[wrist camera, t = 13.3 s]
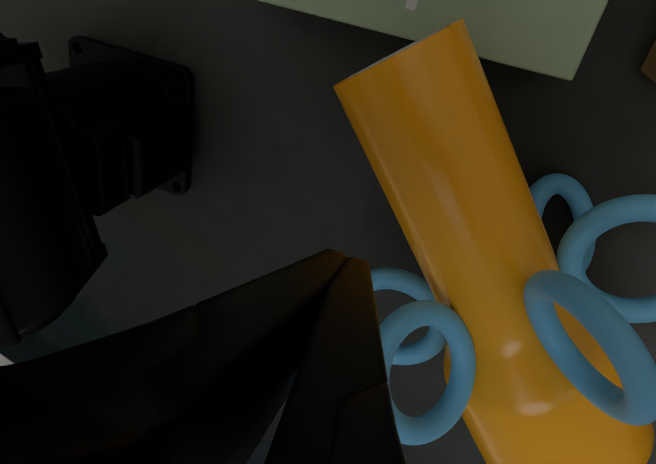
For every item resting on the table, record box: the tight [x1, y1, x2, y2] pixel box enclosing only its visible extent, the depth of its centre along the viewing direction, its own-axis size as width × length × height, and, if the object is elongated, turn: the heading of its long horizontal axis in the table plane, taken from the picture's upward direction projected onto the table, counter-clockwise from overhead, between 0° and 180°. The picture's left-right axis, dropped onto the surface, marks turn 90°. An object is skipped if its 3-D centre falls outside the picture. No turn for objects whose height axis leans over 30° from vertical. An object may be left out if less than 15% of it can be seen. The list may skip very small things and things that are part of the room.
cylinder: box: [333, 18, 656, 464], centre depth 16 cm, size 12×10×15 cm
